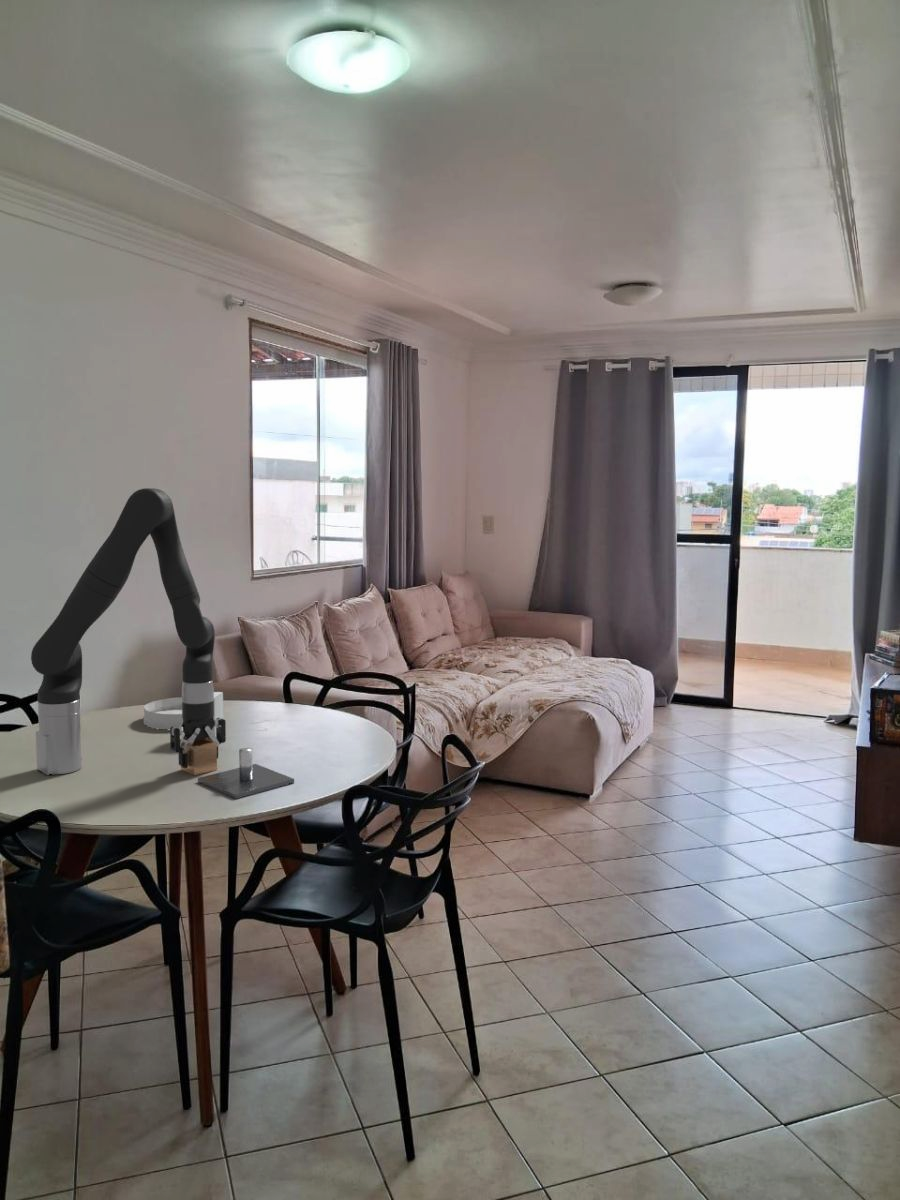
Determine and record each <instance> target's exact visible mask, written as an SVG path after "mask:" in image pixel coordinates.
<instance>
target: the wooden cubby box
mask: <svg viewBox="0 0 900 1200" xmlns="http://www.w3.org/2000/svg"><path fill="white" fill-rule="evenodd" d="M187 754H188V767H187V768H182V767H181V766H180V770H181V771H183V772H186V773H188V774H190V775H193V776H197V775H202V774H205V773H206V774H207V773H210V772H214V771H217V770H218V759H217V742H214V741H211V740H208V739H200V740H198V741H194V742H193V744H192V745H191V746H190V747H189V749H188V751H187Z"/></svg>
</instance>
